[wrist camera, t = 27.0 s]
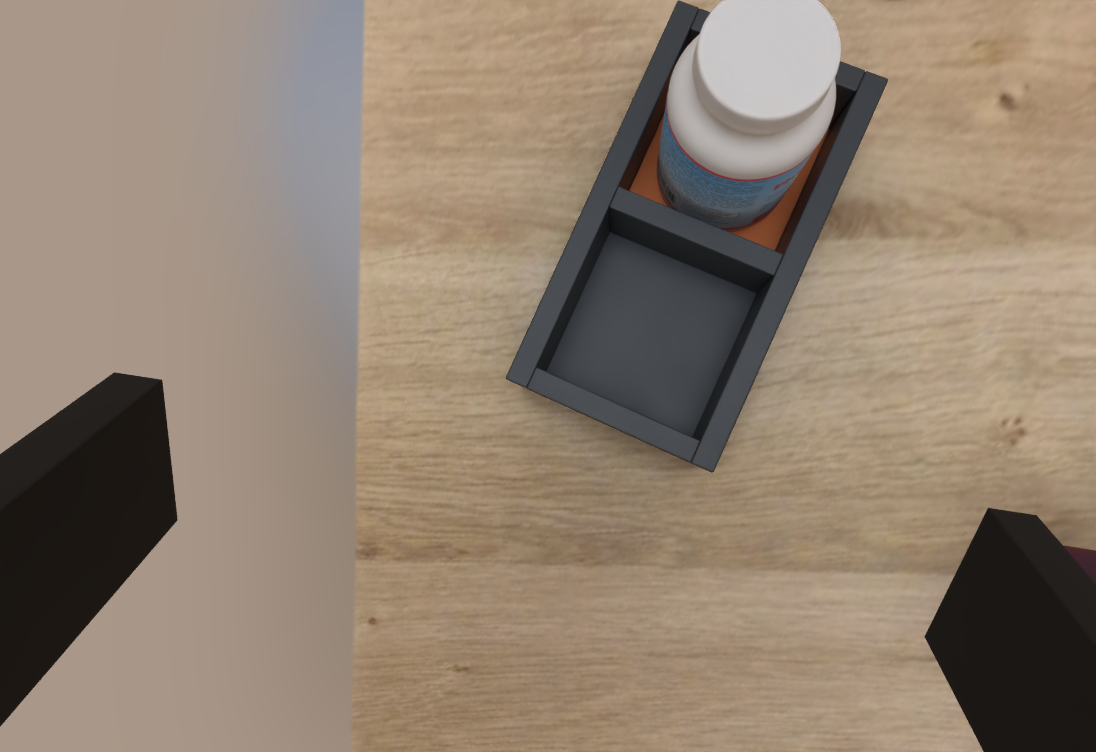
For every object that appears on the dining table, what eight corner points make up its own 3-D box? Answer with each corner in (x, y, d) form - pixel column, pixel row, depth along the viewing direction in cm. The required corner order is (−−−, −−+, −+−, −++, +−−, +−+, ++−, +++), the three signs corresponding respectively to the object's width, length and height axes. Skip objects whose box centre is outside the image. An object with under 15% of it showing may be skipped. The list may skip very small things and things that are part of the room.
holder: (520, 385, 36) (505, 378, 31) (669, 57, 37) (678, -1, 32) (700, 467, 35) (713, 473, 30) (851, 127, 36) (889, 78, 31)
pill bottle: (779, 242, 34) (857, 150, 23) (648, 228, 35) (663, 133, 24) (793, 116, 35) (877, -33, 24) (664, 105, 35) (685, -46, 24)
